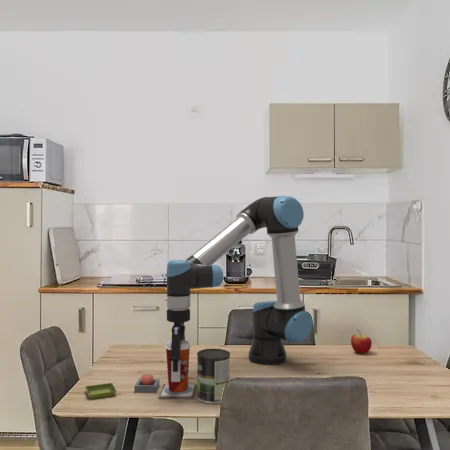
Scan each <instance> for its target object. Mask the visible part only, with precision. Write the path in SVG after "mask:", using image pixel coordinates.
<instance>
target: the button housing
mask: <svg viewBox="0 0 450 450" xmlns="http://www.w3.org/2000/svg"><path fill="white" fill-rule="evenodd" d="M160 381H161V380H160V379H159V378H155V379H154V378H153V385H141V378H138V380H137V381H136V382H135V384H134V393H153V394H154V393H157V392H158V389H159V387H160Z"/></svg>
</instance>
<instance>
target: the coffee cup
mask: <svg viewBox="0 0 450 450" xmlns="http://www.w3.org/2000/svg"><path fill="white" fill-rule="evenodd" d="M171 344H172V340H168V341H167V342H166V345H165V346H164V348H165V351H166V365H167V368H166V369H167V382H168V383H167V384H169V390H170V391H172V392H183V391H186V390H187V388H188V383H189V371H190V369H189V368H190V366H189V365H190V349H191V344H190V342H189V341H188V340H186V339H185V340H182V341H181V348H180V382H171V361H169V358H171ZM176 357H177V356H176Z"/></svg>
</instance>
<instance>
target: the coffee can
mask: <svg viewBox="0 0 450 450" xmlns="http://www.w3.org/2000/svg"><path fill="white" fill-rule="evenodd" d="M196 356H197V366H196V367H197V371H196V372H197V376H196V377H197V379H196V380H197V383H196V384H197V387H196V390H197V391H196V399H197V400H198V401H199V402H200V403H204V404H210V405H216V404H217V405H218V404H221V403H220V402H221V397H222V392H223V388H224V385H225V383H226V382H227V381H228V380H229V381H230V376H231V375H230V373H231V372H230V370H231V369H230V362H231V358H230V356H231V352H230V351H229V350H226V349H223V348H205V349H201V350H199V351H197V353H196Z"/></svg>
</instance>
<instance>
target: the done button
mask: <svg viewBox="0 0 450 450" xmlns="http://www.w3.org/2000/svg"><path fill="white" fill-rule="evenodd" d="M140 379H141V385H153V379H154V375H153V374H143V375H141V376H140Z"/></svg>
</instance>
